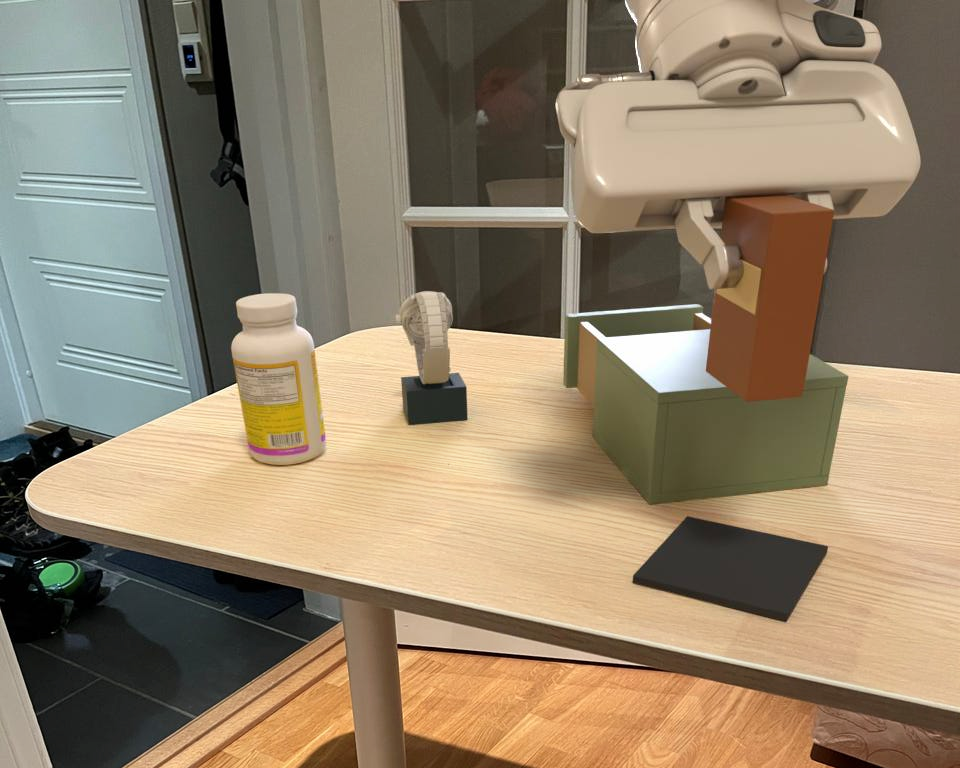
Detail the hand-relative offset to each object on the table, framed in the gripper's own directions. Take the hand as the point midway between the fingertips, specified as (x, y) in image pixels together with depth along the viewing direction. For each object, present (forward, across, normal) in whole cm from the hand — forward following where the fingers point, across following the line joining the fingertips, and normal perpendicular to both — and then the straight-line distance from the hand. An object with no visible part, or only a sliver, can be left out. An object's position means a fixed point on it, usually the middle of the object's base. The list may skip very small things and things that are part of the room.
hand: (769, 280), depth 53 cm
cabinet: (+1, +5, +25) cm, 26 cm away
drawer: (-10, +5, +35) cm, 36 cm away
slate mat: (+13, 0, +12) cm, 18 cm away
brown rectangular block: (+4, 0, +4) cm, 6 cm away
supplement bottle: (-6, -29, +32) cm, 44 cm away
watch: (-11, -15, +37) cm, 41 cm away
